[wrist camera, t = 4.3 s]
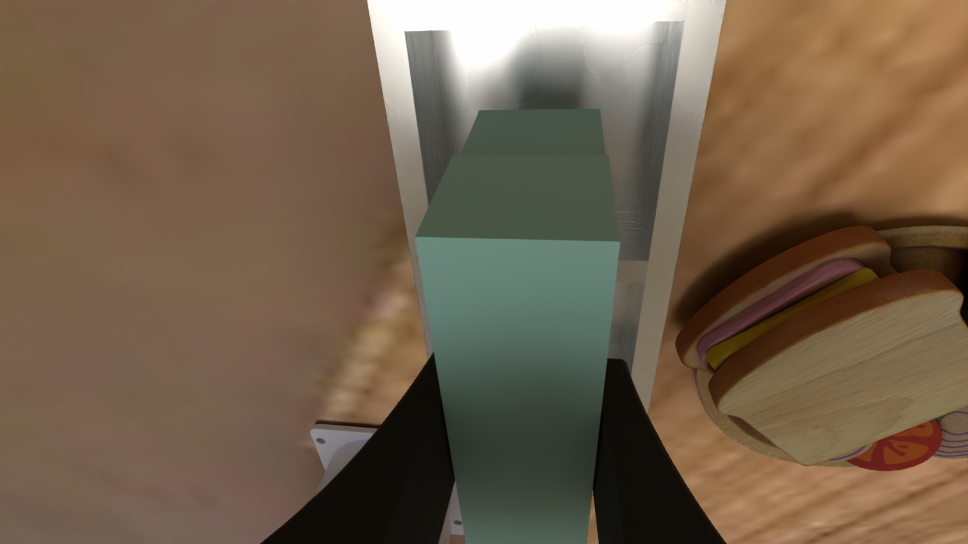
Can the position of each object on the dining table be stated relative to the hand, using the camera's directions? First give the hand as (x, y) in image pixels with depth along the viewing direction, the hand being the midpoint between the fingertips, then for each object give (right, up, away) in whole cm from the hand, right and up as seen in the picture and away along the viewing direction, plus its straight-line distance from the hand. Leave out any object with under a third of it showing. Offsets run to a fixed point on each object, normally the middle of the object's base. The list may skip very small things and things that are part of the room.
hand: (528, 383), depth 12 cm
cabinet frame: (+1, +5, +7) cm, 8 cm away
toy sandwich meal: (+13, 0, +9) cm, 16 cm away
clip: (+1, +3, +4) cm, 5 cm away
